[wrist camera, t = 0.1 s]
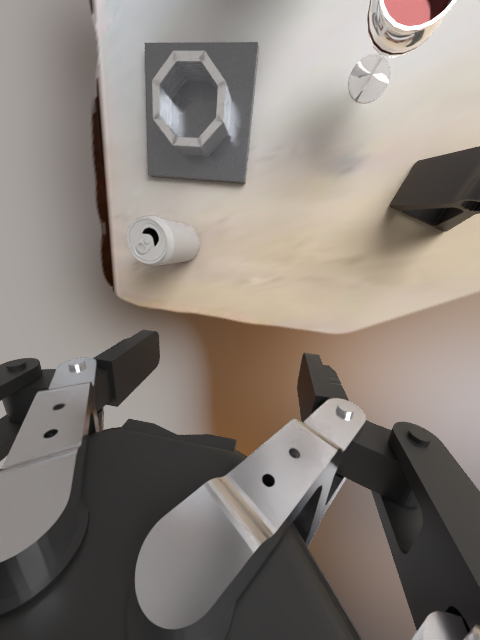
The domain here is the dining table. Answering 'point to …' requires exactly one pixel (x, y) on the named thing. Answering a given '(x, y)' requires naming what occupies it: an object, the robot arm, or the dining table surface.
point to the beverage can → (161, 241)
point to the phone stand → (442, 189)
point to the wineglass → (393, 40)
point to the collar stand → (200, 109)
